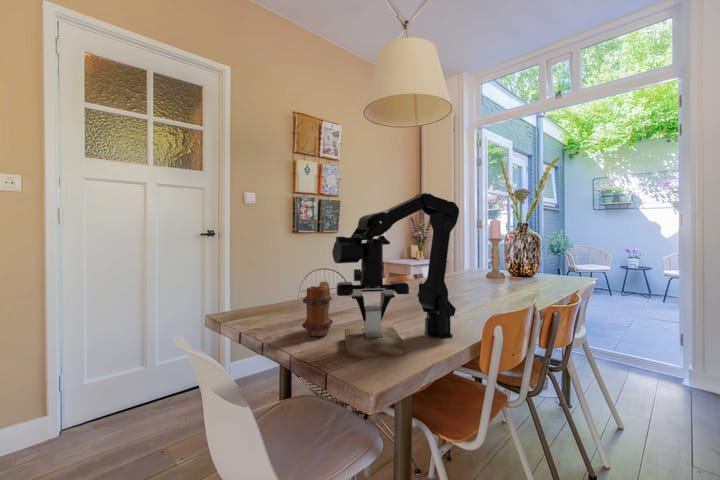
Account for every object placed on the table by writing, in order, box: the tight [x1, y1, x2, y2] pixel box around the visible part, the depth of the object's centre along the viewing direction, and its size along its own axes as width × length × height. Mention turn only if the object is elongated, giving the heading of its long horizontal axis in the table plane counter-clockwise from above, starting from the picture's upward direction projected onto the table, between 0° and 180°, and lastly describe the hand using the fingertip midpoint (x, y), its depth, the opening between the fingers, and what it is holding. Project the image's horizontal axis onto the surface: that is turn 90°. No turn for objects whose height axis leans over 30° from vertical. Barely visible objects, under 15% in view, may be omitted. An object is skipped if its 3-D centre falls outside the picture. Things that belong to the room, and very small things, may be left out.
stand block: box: [344, 326, 406, 358], centre depth 87 cm, size 14×14×4 cm
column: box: [363, 305, 382, 339], centre depth 87 cm, size 4×4×8 cm
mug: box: [301, 281, 334, 338], centre depth 100 cm, size 15×8×15 cm, turn 168°
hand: (372, 320), depth 87 cm, fingers closed on column, 4 cm apart
